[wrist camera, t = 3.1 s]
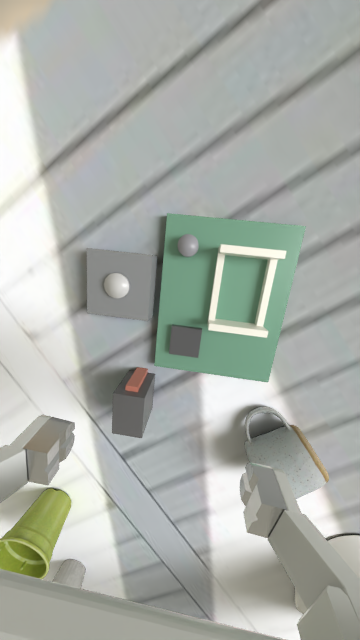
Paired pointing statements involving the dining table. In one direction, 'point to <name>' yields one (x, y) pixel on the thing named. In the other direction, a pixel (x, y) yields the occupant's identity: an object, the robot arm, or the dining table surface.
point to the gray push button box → (121, 284)
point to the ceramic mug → (287, 454)
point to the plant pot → (35, 535)
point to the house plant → (70, 573)
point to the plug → (133, 403)
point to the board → (224, 294)
